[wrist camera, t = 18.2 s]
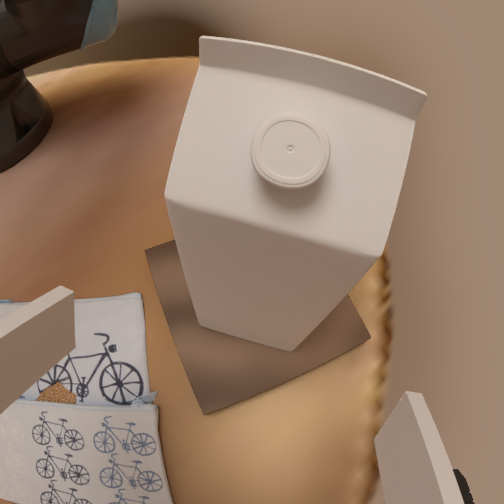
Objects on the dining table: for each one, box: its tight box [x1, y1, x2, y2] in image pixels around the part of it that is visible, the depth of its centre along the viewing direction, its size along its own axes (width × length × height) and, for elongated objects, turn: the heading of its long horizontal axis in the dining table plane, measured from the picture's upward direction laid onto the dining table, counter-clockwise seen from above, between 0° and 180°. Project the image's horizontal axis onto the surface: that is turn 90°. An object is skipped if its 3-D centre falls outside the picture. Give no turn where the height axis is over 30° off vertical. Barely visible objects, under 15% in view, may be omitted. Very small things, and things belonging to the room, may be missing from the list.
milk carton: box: [164, 36, 427, 351], centre depth 16 cm, size 7×7×19 cm
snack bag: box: [0, 292, 173, 504], centre depth 19 cm, size 19×20×2 cm
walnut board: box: [145, 240, 371, 415], centre depth 25 cm, size 14×14×2 cm
